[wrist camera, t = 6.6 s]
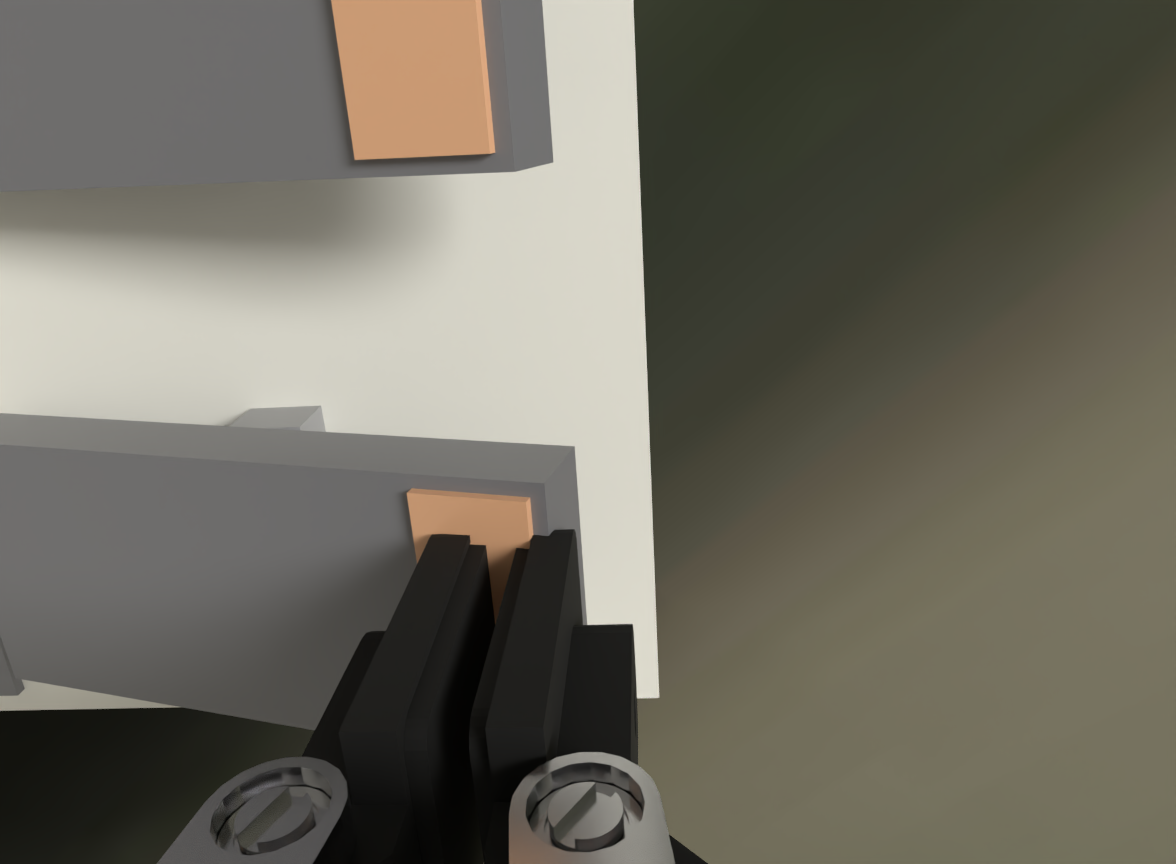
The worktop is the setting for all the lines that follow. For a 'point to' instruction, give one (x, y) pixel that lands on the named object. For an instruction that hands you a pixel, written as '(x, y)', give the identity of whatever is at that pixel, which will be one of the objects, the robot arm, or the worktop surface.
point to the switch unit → (371, 313)
